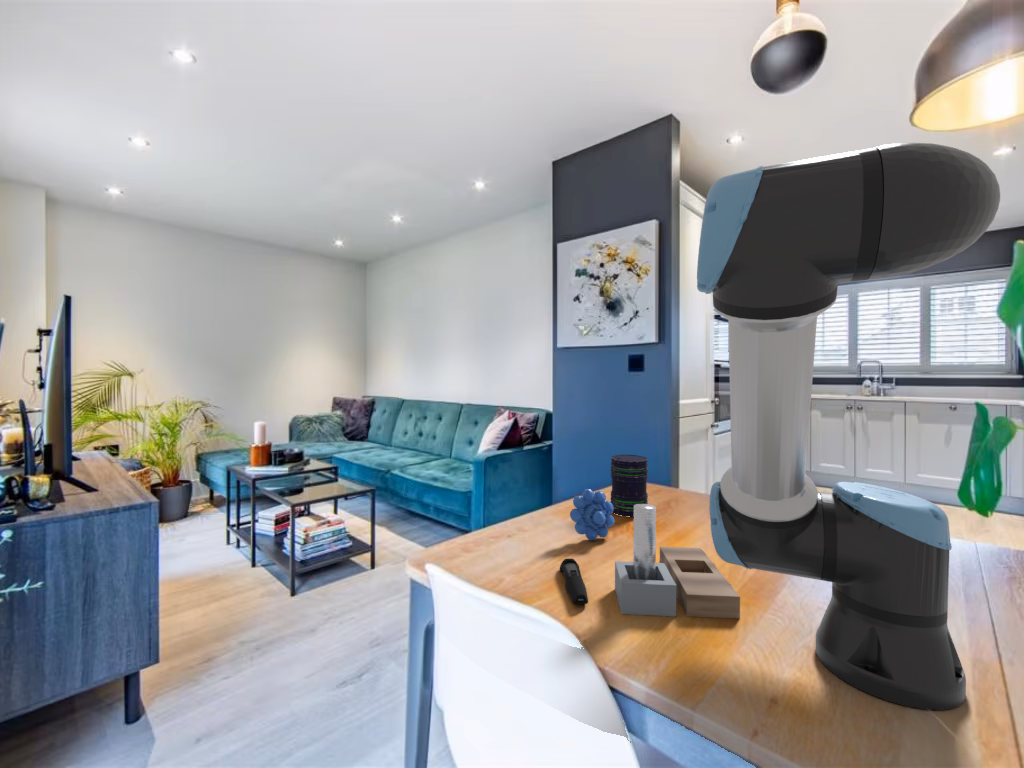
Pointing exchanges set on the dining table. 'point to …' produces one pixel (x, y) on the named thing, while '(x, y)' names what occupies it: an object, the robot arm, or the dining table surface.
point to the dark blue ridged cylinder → (628, 483)
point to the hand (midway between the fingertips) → (768, 412)
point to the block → (645, 591)
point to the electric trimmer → (574, 581)
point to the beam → (700, 584)
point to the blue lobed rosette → (592, 514)
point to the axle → (644, 542)
